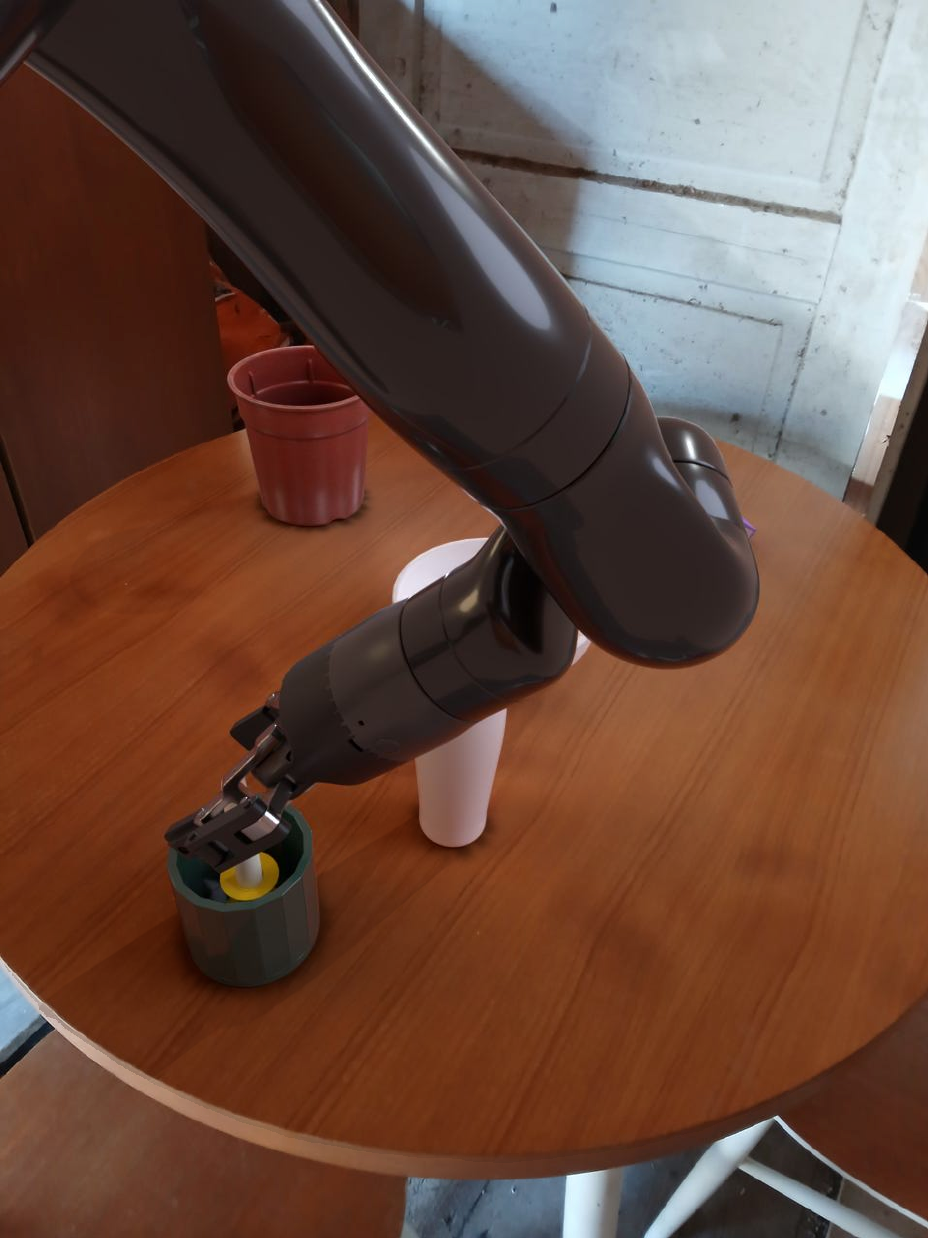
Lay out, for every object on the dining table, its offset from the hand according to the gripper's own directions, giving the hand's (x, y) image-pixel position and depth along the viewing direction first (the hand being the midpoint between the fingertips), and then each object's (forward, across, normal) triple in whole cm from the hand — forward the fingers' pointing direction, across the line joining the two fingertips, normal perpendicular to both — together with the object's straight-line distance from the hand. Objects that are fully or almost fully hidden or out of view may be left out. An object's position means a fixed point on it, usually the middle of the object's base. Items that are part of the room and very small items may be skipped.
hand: (211, 788), depth 56 cm
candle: (+9, 0, +11) cm, 14 cm away
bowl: (+2, -34, +18) cm, 39 cm away
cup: (+9, 0, +11) cm, 15 cm away
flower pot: (+21, -55, -1) cm, 59 cm away
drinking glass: (+1, -13, +19) cm, 23 cm away
